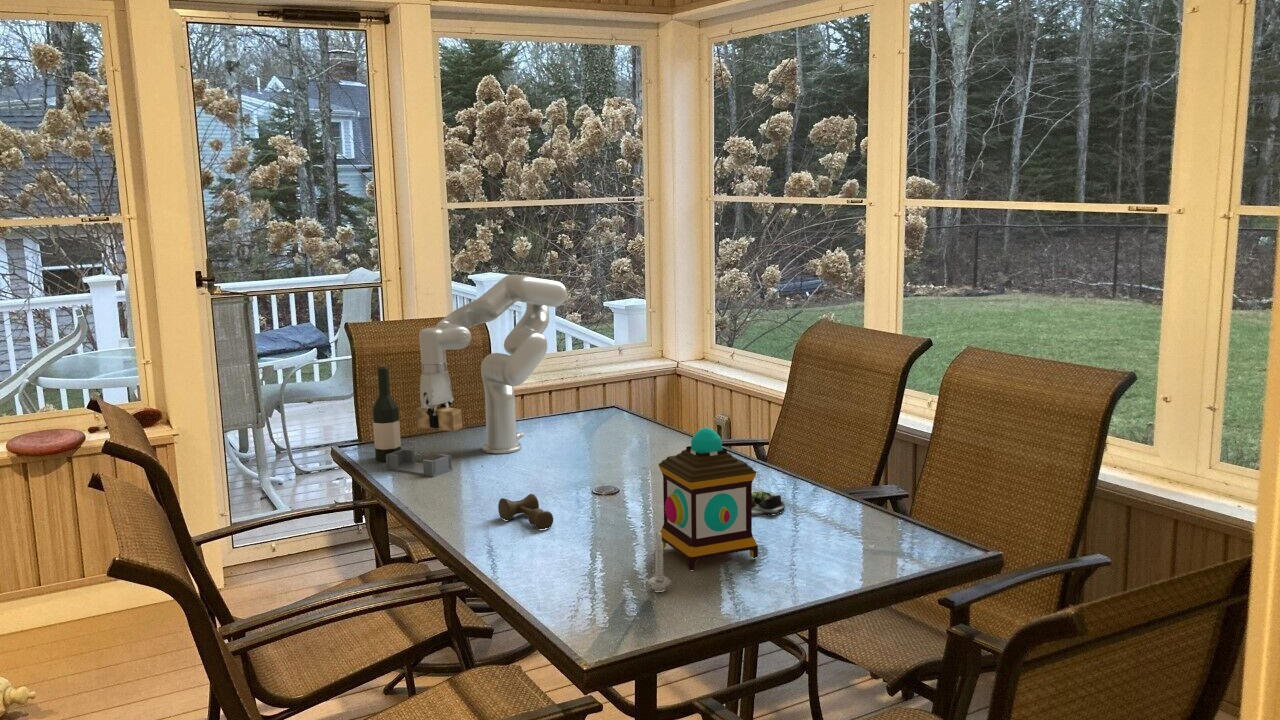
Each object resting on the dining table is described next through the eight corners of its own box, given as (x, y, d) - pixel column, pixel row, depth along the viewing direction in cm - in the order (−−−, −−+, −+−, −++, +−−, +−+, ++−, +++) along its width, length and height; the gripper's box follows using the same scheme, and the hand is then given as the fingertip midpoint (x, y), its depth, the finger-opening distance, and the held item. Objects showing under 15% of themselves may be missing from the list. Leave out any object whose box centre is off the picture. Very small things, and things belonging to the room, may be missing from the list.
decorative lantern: (687, 575, 226) (685, 442, 221) (650, 547, 244) (648, 423, 239) (766, 561, 234) (767, 431, 229) (725, 534, 252) (724, 414, 247)
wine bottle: (398, 462, 324) (392, 368, 319) (371, 462, 324) (365, 368, 319) (404, 455, 332) (399, 363, 327) (379, 455, 333) (373, 363, 327)
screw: (666, 596, 215) (645, 593, 217) (674, 587, 220) (653, 585, 221) (665, 536, 213) (643, 534, 215) (673, 529, 217) (651, 526, 219)
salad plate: (712, 519, 264) (712, 502, 263) (708, 498, 282) (708, 482, 281) (788, 519, 264) (788, 501, 263) (779, 498, 281) (779, 481, 281)
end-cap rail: (386, 469, 316) (385, 454, 316) (405, 462, 324) (404, 448, 323) (433, 477, 307) (432, 462, 306) (452, 470, 314) (451, 455, 313)
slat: (417, 426, 324) (415, 408, 323) (425, 423, 327) (424, 405, 326) (454, 431, 316) (452, 412, 315) (462, 427, 319) (461, 409, 318)
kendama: (528, 536, 255) (490, 514, 271) (562, 529, 261) (523, 508, 277) (528, 513, 254) (490, 492, 270) (562, 506, 260) (523, 486, 276)
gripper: (443, 362, 327) (448, 418, 330) (406, 372, 313) (411, 431, 316) (461, 363, 323) (466, 420, 327) (425, 374, 309) (430, 433, 313)
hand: (439, 425), depth 321 cm, fingers closed on slat, 4 cm apart
